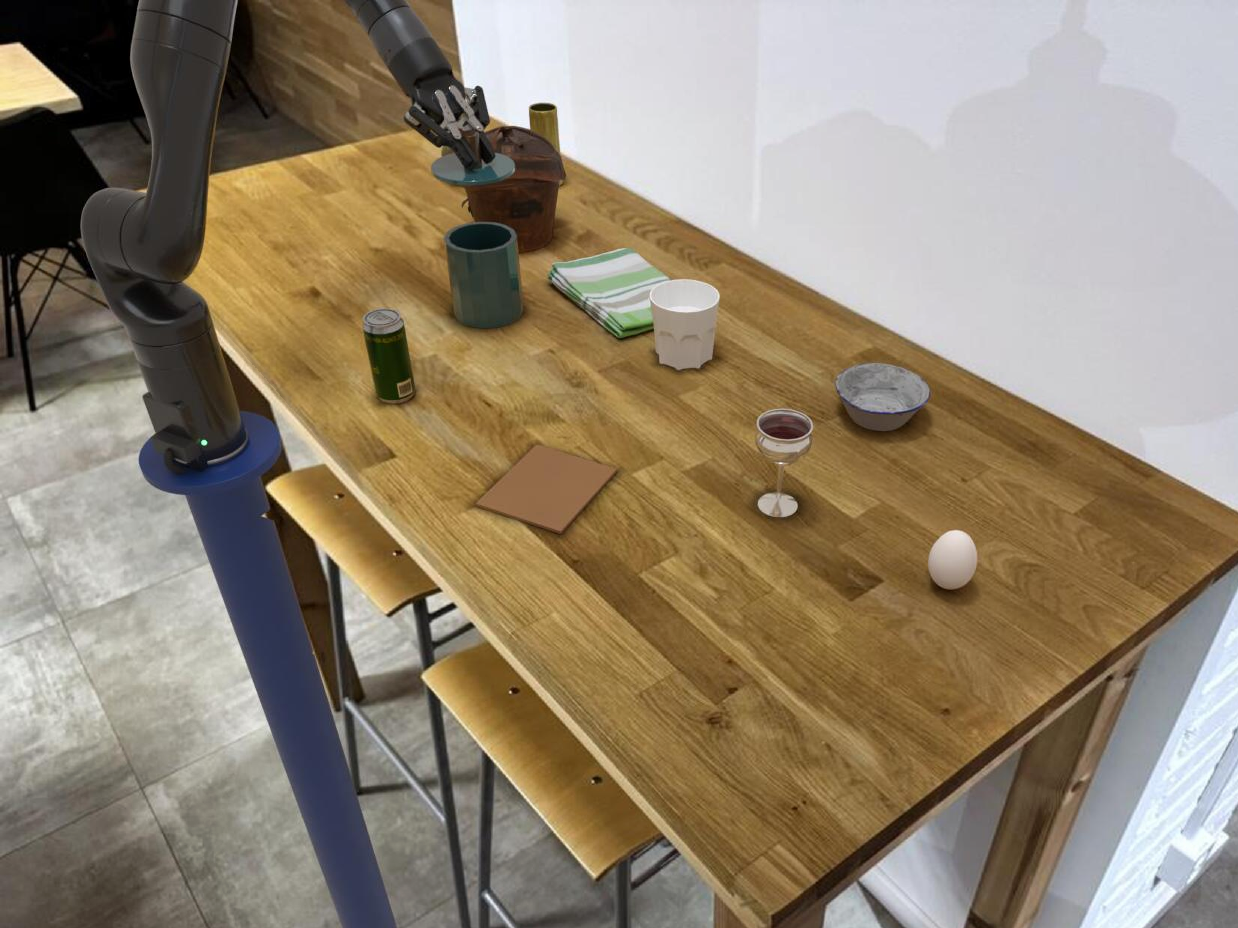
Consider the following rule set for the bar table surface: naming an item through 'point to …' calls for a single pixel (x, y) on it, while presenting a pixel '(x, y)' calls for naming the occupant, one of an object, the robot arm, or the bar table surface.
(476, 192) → the case
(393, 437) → the bar table surface
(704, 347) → the cup
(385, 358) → the beer can
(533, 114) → the vase
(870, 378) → the bowl
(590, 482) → the mat
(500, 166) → the lid with knob
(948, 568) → the egg
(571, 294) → the dish towel
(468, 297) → the teal hollow cylinder
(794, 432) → the wineglass
